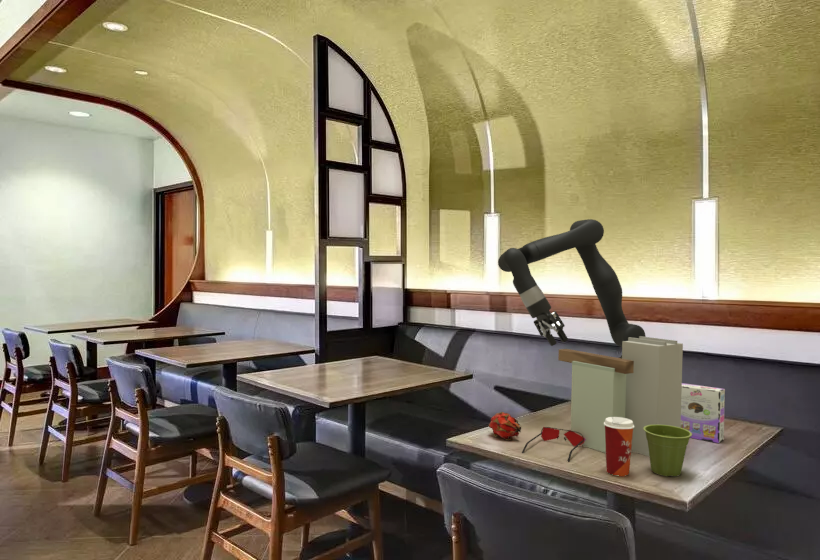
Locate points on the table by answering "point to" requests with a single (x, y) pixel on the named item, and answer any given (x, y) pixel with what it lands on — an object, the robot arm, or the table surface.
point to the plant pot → (667, 448)
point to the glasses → (550, 434)
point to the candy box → (703, 412)
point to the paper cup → (618, 445)
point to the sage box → (595, 401)
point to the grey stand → (652, 386)
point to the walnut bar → (597, 360)
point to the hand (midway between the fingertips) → (559, 343)
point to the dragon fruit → (504, 425)
